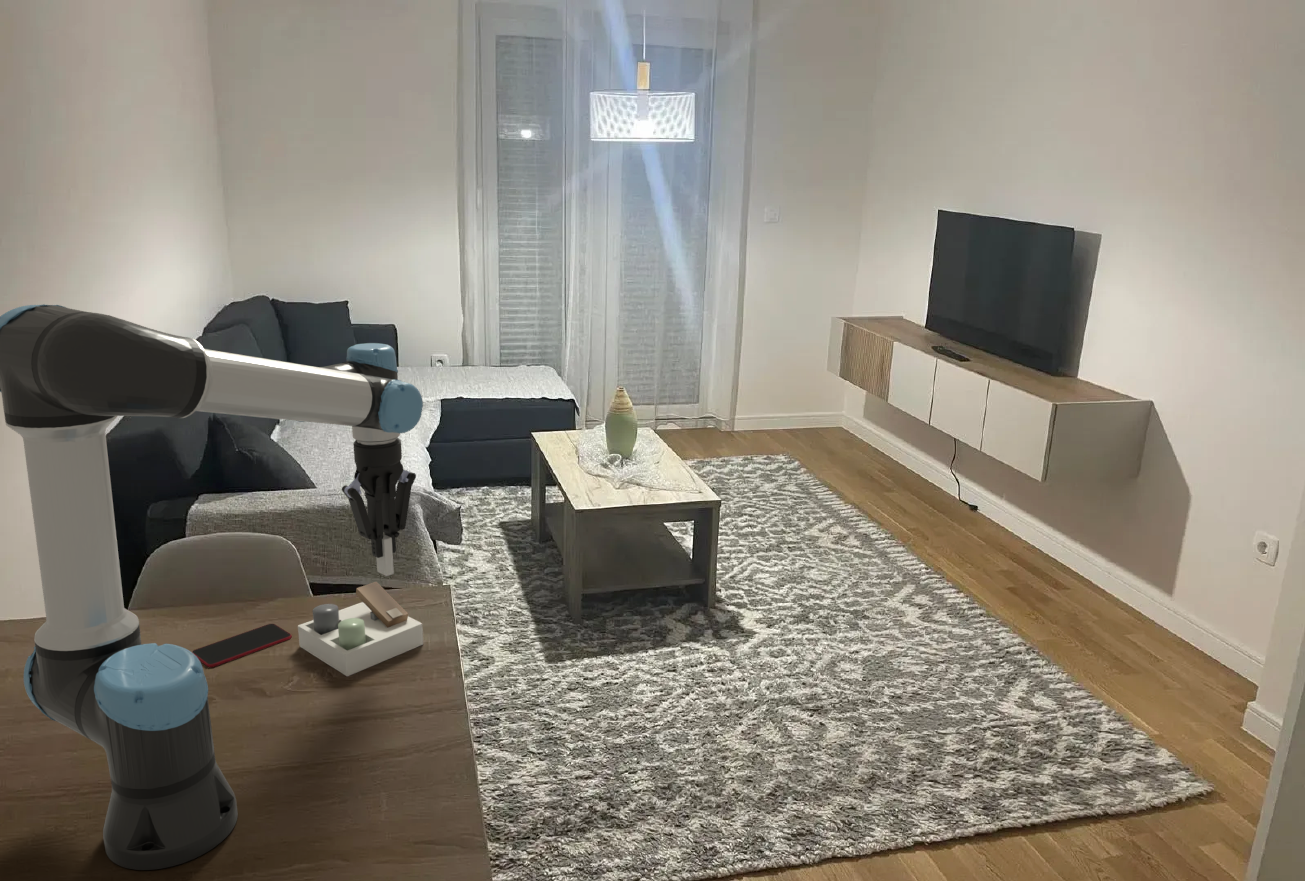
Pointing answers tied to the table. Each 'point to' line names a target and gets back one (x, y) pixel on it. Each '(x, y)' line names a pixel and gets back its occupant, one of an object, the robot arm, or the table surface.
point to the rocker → (381, 604)
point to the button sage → (351, 633)
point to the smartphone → (241, 645)
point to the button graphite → (325, 618)
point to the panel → (375, 650)
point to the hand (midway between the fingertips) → (385, 572)
